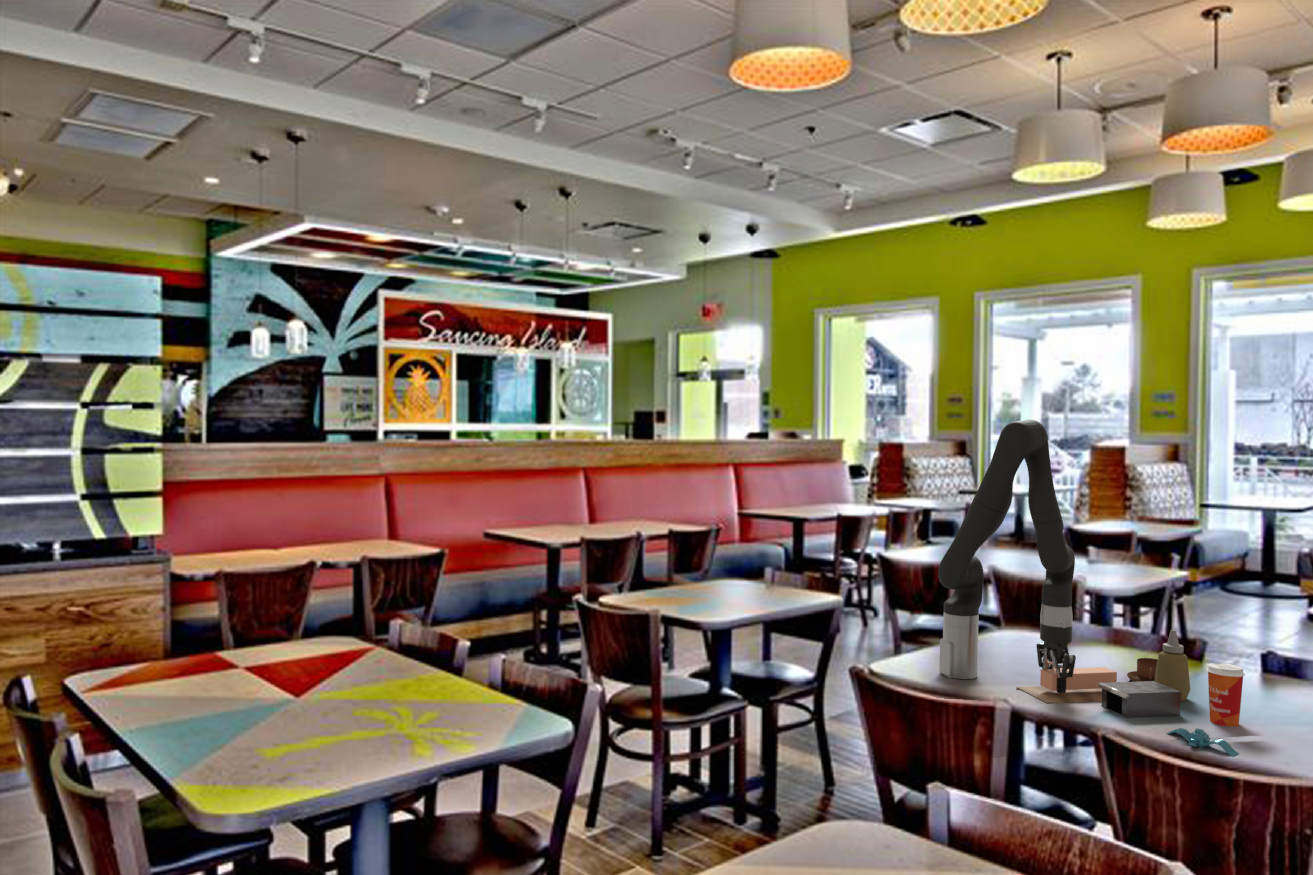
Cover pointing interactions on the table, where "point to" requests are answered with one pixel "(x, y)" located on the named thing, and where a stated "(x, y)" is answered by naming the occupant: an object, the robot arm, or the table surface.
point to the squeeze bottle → (1173, 666)
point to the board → (1063, 695)
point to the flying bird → (1203, 740)
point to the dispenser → (1141, 699)
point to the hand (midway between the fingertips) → (1054, 689)
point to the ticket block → (1079, 678)
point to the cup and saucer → (1144, 670)
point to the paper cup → (1225, 693)
